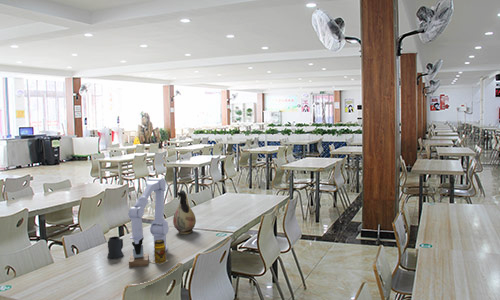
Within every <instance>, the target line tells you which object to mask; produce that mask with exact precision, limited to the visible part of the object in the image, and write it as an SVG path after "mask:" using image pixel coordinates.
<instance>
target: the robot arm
mask: <svg viewBox="0 0 500 300" xmlns="http://www.w3.org/2000/svg"><path fill="white" fill-rule="evenodd" d="M166 182H167V181H166V180H165V178H163V177H148V178H147V179H146V182H145V188H144V191H143V193H142V195H141V196H139V197H138V198H137V200H136V202H135V203H134V205H133V206H132V207H130V208H129V210H128V216H129V219H130V223H131V224H130V225H131V236H130V237H129V239H130V240H133V241H132V243H131V245H132V246H133V247H134V249H135V252H136V255H139V254H140V253H141V246H142V245H143V243H144V242H143V240H144V232H143V231H144V229H143V217H144V214H145V208H146V207H147V204H148V203H149V200H148V199H149V198H150V197H151V195H152V193H153V192H154V193H155V195H154V197H155V201H154V203H155V204H154V205H155V206H154V220H152V221H151V223H150V224H151V225H150V227H149V232H150V234H152V236H153V247H154V246H155V243H154V242H155V241H156V240H164V245H165V252H167V251H168V245H167V234H168V233H169V225H168V224H169V223H168V221H167V220H166V219H165V217H164V215H165V192H166V187H167V186H166V185H167V183H166ZM152 252H153V253H154V250H153V251H152Z"/></svg>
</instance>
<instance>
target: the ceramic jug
mask: <svg viewBox="0 0 500 300" xmlns="http://www.w3.org/2000/svg"><path fill="white" fill-rule="evenodd" d="M176 195H177V196H178V197H179V199H180V200H179V204H178V206H177V207H176V210H175V212H174V214H173V218H172V220H173V221H172V224H173V227H174V228H175V229H176V230H177V232H178V233H179V234H181V235H189V234H190V233H193V230H194V228H195V225H196V223H197V220H196V215H195V213H194V211H193V210H192V208H191V207H190V206H189V204H188V203H187V193H186V191H185V190H183V189H182V190H180V191H177V193H176Z"/></svg>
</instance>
